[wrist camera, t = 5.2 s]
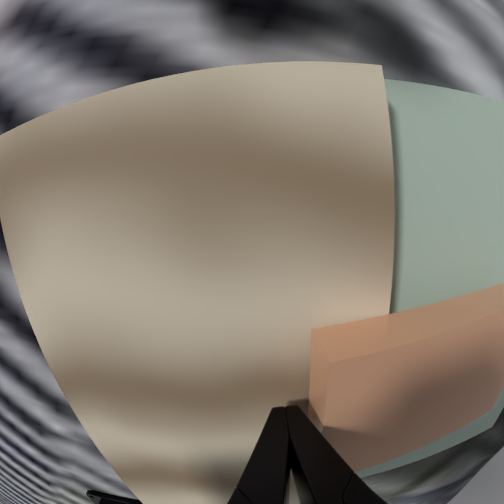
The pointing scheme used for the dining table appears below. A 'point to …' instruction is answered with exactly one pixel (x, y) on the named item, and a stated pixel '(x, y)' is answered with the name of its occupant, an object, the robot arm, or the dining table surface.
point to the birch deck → (199, 255)
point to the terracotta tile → (406, 376)
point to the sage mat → (445, 211)
